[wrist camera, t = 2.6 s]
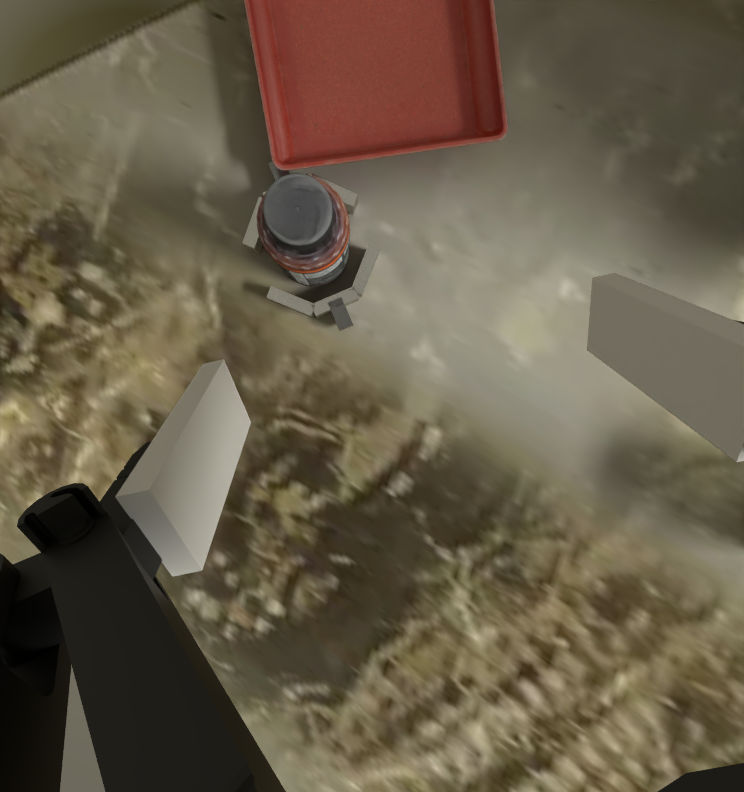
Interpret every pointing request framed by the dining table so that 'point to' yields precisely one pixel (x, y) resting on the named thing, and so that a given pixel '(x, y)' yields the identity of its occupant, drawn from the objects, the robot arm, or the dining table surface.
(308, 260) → the supplement bottle
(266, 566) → the dining table surface
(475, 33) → the plant saucer
